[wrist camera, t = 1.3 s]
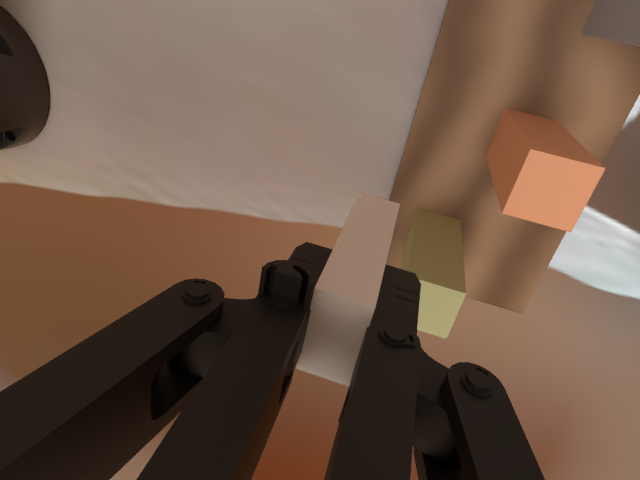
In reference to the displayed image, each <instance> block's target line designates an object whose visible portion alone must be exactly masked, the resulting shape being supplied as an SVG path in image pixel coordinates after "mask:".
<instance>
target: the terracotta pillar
mask: <svg viewBox="0 0 640 480" xmlns="http://www.w3.org/2000/svg"><path fill="white" fill-rule="evenodd" d="M486 159H487V162H488V166H489V169H490V173H491V176H492V180H493V184H494V187H495V191H496V194H497V198H498V201H499V205H500V208H501V212H502V214H506V215H510V216H513V217H517V218H521V219H524V220H528V221H532V222H535V223H539V224H542V225H546V226H550V227H553V228H557V229H561V230H564V231H568V232H571V231H572V229H573V228H574V226H575V224H576V222H577V220H578V218H579V216H580V215H581V213H582V211H583V209H584V207H585V205H586V204H587V202H588V200H589V198H590V196H591V194H592V192H593V191H594V189H595V187H596V185H597V183H598V181H599V179H600V178H601V176H602V174H603V172H604V170H605V167H604V166H603V165H602V164H601V163H600V162H599V161H598V160H597V159H596V158H594V157H593V156H592V155H591V154H590V153H589V152H588V151H587V150H586V149H585V148H584V147H583V146H582V145H581V144H580V143H579V142H578V141H577V140H576V139H575V138H574V137H573V136H572V135H571V134H570V133H569V132H568V131H567V130H566V129H565V128H564V127H563V126H562V125H561V124H560V123H559V122H558V121H556V120H551V119H547V118H543V117H539V116H535V115H531V114H527V113H523V112H519V111H515V110H511V109H507V108H505V109H504V112H503V114H502V117H501V119H500V122H499V124H498V127H497V129H496V132H495V134H494V137H493V139H492V142H491V144H490V147H489V150H488V152H487V155H486Z"/></svg>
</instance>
